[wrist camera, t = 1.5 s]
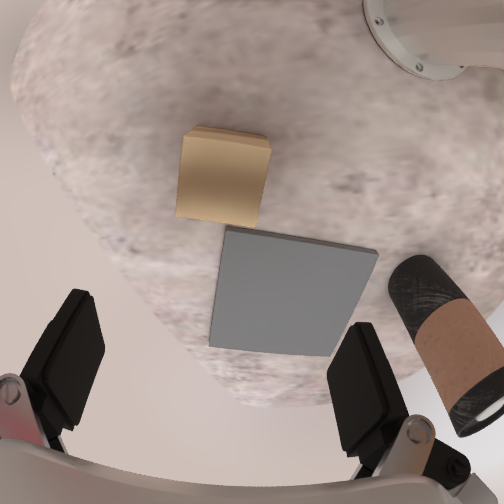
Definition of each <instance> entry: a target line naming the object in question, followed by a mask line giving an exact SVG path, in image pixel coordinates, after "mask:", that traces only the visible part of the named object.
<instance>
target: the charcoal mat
mask: <svg viewBox="0 0 504 504" xmlns="http://www.w3.org/2000/svg"><path fill="white" fill-rule="evenodd" d="M378 257H379V254H378V253H377V251H376V250H371V249H366V248H360V247H354V246H349V245H343V244H337V243H331V242H325V241H319V240H313V239H307V238H301V237H295V236H289V235H282V234H276V233H270V232H264V231H257V230H251V229H244V228H238V227H231V226H226V231H225V238H224V244H223V250H222V257H221V263H220V270H219V276H218V283H217V290H216V297H215V303H214V310H213V318H212V325H211V332H210V339H209V346H210V347H217V348H226V349H234V350H243V351H253V352H264V353H276V354H290V355H306V356H329V357H330V356H331V354H332V352H333V350H334V348H335V347H336V345H337V343H338V341H339V339H340V337H341V335H342V333H343V331H344V329H345V327H346V326H347V324H348V322H349V320H350V318H351V316H352V314H353V312H354V309H355V307H356V305H357V303H358V301H359V299H360V297H361V295H362V293H363V291H364V288H365V286H366V284H367V282H368V280H369V277H370V275H371V273H372V271H373V268H374V266H375V264H376V261H377V259H378Z"/></svg>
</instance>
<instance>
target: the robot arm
mask: <svg viewBox="0 0 504 504" xmlns="http://www.w3.org/2000/svg"><path fill="white" fill-rule="evenodd" d="M363 4H364V12H365V16H366V21H367V23H368V25H369V28H370V30H371V33H372V34H373V36H374V38H375V39H376V41H377V43H378V44H379V45H380V47H381V48H382V49H383V50H384V52H385V53H386V54H387V55H388V56H389V57H390V58H391V59H392V60H393V61H394V62H395V63H396V64H397V65H399V66H400V67H402V68H403V69H404V70H406V71H408V72H409V73H411V74H413V75H415V76H418V77H421V78H424V79H430V80H448V79H452V78H454V77H456V76H458V75H460V74H461V73H462V72H463V71H464V70H465V69H466V68H467V66H478V67H491V68H501V69H504V0H363ZM375 21H376V22H377V24H376V23H375ZM416 67H417V69H416ZM104 353H105V344H104V340H103V336H102V333H101V328H100V324H99V320H98V316H97V312H96V308H95V303H94V298H93V296H90V294H89V292H88V291H84V290H80V289H73V290H72V291H71V292H70V294H69V295H68V297H67V298H66V300H65V301H64V303H63V305H62V306H61V308H60V309H59V311H58V312H57V314H56V316H55V317H54V319H53V320H52V321H51V322H50V323H49V324H48V325H47V328H46V329H45V330H44V332H43V334H42V336H41V338H40V339H39V341H38V343H37V344H36V346H35V348H34V350H33V351H32V353H31V355H30V357H29V359H28V361H27V363H26V365H25V366H24V368H23V370H22V372H21V374H20V376H18V375H16V374H12V373H9V374H4V375H2V376H0V504H498V500H497V498H496V496H495V495H494V493H493V492H492V491H491V490H490V489H489V488H488V487H487V486H486V485H485V484H484V483H483V482H482V481H481V479H480V478H479V477H478V476H477V475H476V474H475V473H472V474H471V473H470V471H471V467H470V463H469V460H468V459H467V457H466V456H465V455H463V454H461V453H460V452H458V451H457V450H455V449H453V448H452V447H450V446H448V445H446V444H445V443H443V442H441V441H440V440H438V439H436V438H435V435H436V434H435V428H434V426H433V424H432V422H431V421H430V420H429V419H428V418H426V417H424V416H422V415H411V416H409V413H408V411H407V408H406V405H405V402H404V400H403V397H402V394H401V392H400V389H399V387H398V384H397V381H396V379H395V376H394V374H393V371H392V369H391V366H390V364H389V361H388V359H387V358H386V355H385V353H384V350H383V348H382V346H381V343H380V341H379V339H378V336H377V334H376V332H375V329H374V327H373V325H372V323H370V322H356V323H355V324H354V325H353V326H350V327H349V329H348V331H347V333H346V335H345V337H344V339H343V341H342V343H341V345H340V347H339V349H338V351H337V353H336V355H335V357H334V359H333V361H332V362H331V364H330V366H329V368H328V370H327V381H328V385H329V389H330V394H331V398H332V403H333V408H334V412H335V417H336V422H337V426H338V431H339V436H340V441H341V446H342V449H343V451H346V453H347V457H355V456H359V460H360V464H359V466H358V467H357V469H356V471H355V472H354V474H353V475H352V477H351V479H350V480H349V481H340V482H332V483H323V484H313V485H300V486H277V487H244V486H223V485H208V484H198V483H190V482H182V481H175V480H168V479H162V478H156V477H151V476H146V475H141V474H136V473H132V472H127V471H123V470H119V469H115V468H111V467H108V466H104V465H100V464H97V463H93V462H90V461H87V460H83V459H80V458H77V457H74V456H71V455H69V454H68V452H67V450H66V448H65V446H64V443H63V441H62V439H61V436H60V435H61V432H62V429H63V428H65V429H67V430H71V431H73V429H74V426H75V425H76V426H77V425H78V424H79V422H80V419H81V417H82V413H83V410H84V407H85V405H86V402H87V399H88V396H89V393H90V390H91V387H92V385H93V382H94V379H95V376H96V374H97V371H98V368H99V366H100V363H101V360H102V358H103V356H104Z"/></svg>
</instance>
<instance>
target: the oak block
mask: <svg viewBox="0 0 504 504" xmlns="http://www.w3.org/2000/svg"><path fill="white" fill-rule="evenodd" d="M271 152H272V148H271V146H270V144H269V142H268V140H267V138H266V136H260V135H255V134H249V133H243V132H237V131H230V130H224V129H217V128H209V127H201V126H196V127H194V128H193V129H192V130H191V131H189V132H188V133H187V134H185V135H184V137H183V145H182V153H181V161H180V170H179V180H178V190H177V200H176V212H175V216H178V217H185V218H192V219H199V220H206V221H213V222H220V223H226V224H233V225H239V226H246V227H252V228H255V227H256V222H257V218H258V213H259V208H260V203H261V199H262V194H263V189H264V185H265V180H266V175H267V171H268V166H269V161H270V156H271Z"/></svg>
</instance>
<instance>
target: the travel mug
mask: <svg viewBox="0 0 504 504" xmlns="http://www.w3.org/2000/svg"><path fill="white" fill-rule="evenodd" d="M388 289H389V294H390V296H391V299H392V301H393V303H394V305H395V307H396V308H397V310H398V312H399V314H400V316H401V318H402V320H403V322H404V324H405V326H406V328H407V330H408V332H409V335H410V337H411V339H412V341H413V343H414V345H415V347H416V349H417V351H418V353H419V355H420V357H421V359H422V361H423V363H424V364H425V366H426V368H427V370H428V372H429V374H430V376H431V379H432V381H433V383H434V385H435V387H436V389H437V391H438V393H439V395H440V397H441V399H442V402H443V404H444V406H445V408H446V410H447V413H448V415H449V417H450V420H451V422H452V424H453V427H454V429H455V431H456V434H457V435H458V437H460V438H462V437H466V436H470V435H472V434H474V433H476V432H478V431H480V430H482V429H484V428H485V427H487V426H488V425H490V424H491V423H493V422H494V421H495V420H497V419H498V418H499V417H501V416H502V415H503V414H504V347H503V346H502V344H501V343H500V341H499V340H498V338H497V337H496V335H495V334H494V332H493V331H492V330H491V328H490V327H489V325H488V324H487V323H486V321H485V320H484V318H483V317H482V316H481V314H480V313H479V311H478V310H477V309H476V307H475V306H474V305H473V303H472V302H471V301H470V300H469V299H468V297H467V296H466V295H465V294H464V293H463V292H462V291H461V289H460V288H459V287H458V286H457V285H456V284H455V283H454V281H453V280H452V279H451V278H450V277H449V276H448V275H447V274H446V273H445V272H444V271H443V269H442V268H441V267H440V266H439V265H438V264H437V263H436V262H435V261H434V260H433V259H431V258H430V257H428V256H425V255H418V256H414V257H411V258H409V259H407V260H405V261H404V262H403V263H401V264H400V265H399V266H398V267H397V268H396V270H395V271H394V273H393V274H392V276H391V278H390V281H389V286H388Z"/></svg>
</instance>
